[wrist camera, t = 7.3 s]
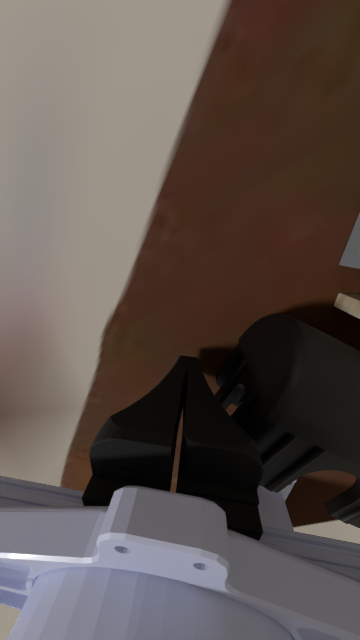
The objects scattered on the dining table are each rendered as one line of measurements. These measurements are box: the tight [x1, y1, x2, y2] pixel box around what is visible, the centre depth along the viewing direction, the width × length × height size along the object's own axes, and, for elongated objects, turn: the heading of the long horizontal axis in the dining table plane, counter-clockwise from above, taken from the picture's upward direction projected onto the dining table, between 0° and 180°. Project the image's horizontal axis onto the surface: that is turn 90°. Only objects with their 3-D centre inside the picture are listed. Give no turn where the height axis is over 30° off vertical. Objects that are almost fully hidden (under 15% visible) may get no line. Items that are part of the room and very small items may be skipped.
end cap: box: [215, 313, 360, 528], centre depth 10 cm, size 10×7×7 cm
